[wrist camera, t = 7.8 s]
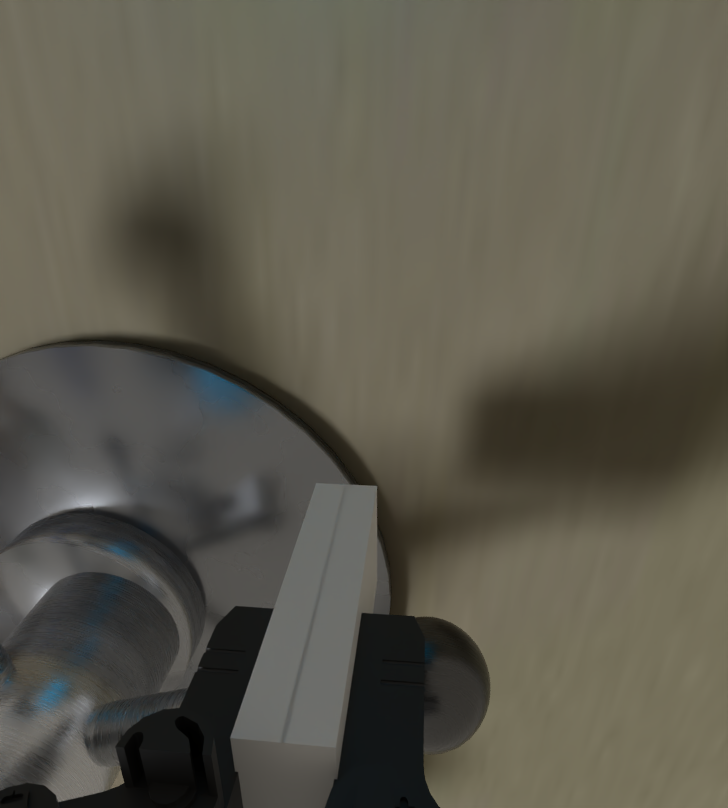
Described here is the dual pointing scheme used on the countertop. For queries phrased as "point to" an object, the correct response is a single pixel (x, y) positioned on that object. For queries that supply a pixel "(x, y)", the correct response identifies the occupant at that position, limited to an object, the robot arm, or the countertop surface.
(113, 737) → the capstan
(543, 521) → the countertop surface
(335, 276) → the countertop surface
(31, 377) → the base plate
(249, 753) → the robot arm
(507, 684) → the countertop surface
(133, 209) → the countertop surface
